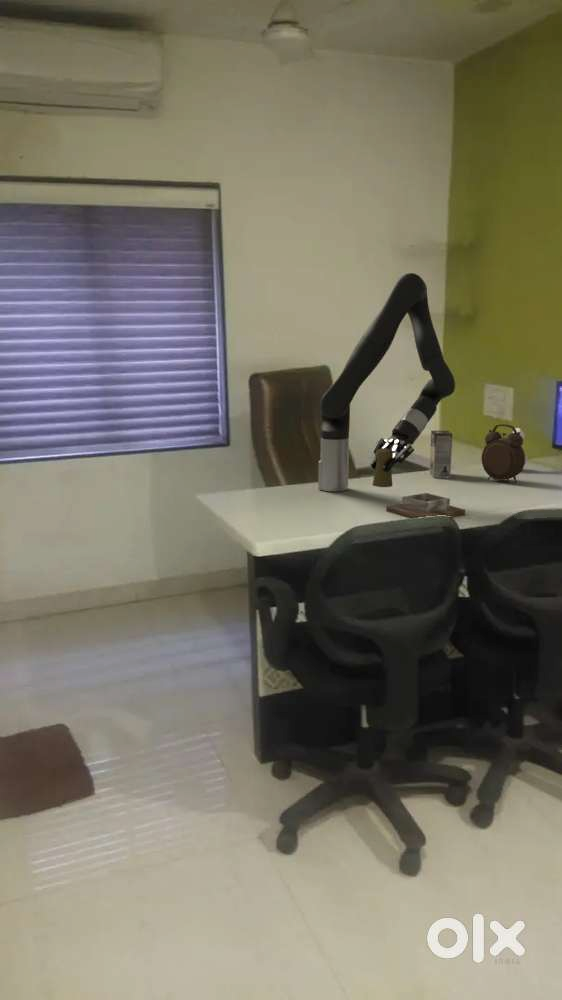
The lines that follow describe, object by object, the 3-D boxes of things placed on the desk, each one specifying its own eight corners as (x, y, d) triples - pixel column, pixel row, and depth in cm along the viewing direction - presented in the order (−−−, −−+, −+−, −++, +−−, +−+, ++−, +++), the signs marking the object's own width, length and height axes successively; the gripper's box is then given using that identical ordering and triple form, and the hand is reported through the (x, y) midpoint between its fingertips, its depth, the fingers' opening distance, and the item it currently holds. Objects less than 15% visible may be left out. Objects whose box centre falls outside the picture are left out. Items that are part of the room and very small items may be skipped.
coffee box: (428, 473, 281) (430, 430, 278) (446, 473, 281) (448, 430, 278) (433, 478, 272) (435, 433, 269) (451, 478, 272) (453, 433, 269)
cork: (394, 484, 233) (396, 448, 231) (389, 488, 228) (391, 451, 226) (376, 482, 236) (377, 447, 233) (369, 485, 230) (371, 449, 228)
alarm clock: (526, 483, 264) (530, 425, 259) (514, 486, 259) (518, 427, 255) (490, 477, 275) (494, 421, 270) (478, 479, 270) (481, 423, 266)
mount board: (424, 522, 211) (425, 506, 210) (386, 511, 224) (386, 496, 223) (465, 514, 220) (465, 499, 219) (425, 504, 233) (426, 489, 232)
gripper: (388, 416, 237) (356, 457, 233) (420, 421, 226) (388, 465, 222) (400, 432, 241) (369, 472, 238) (432, 438, 230) (400, 481, 226)
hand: (378, 468), depth 230 cm, fingers closed on cork, 5 cm apart
